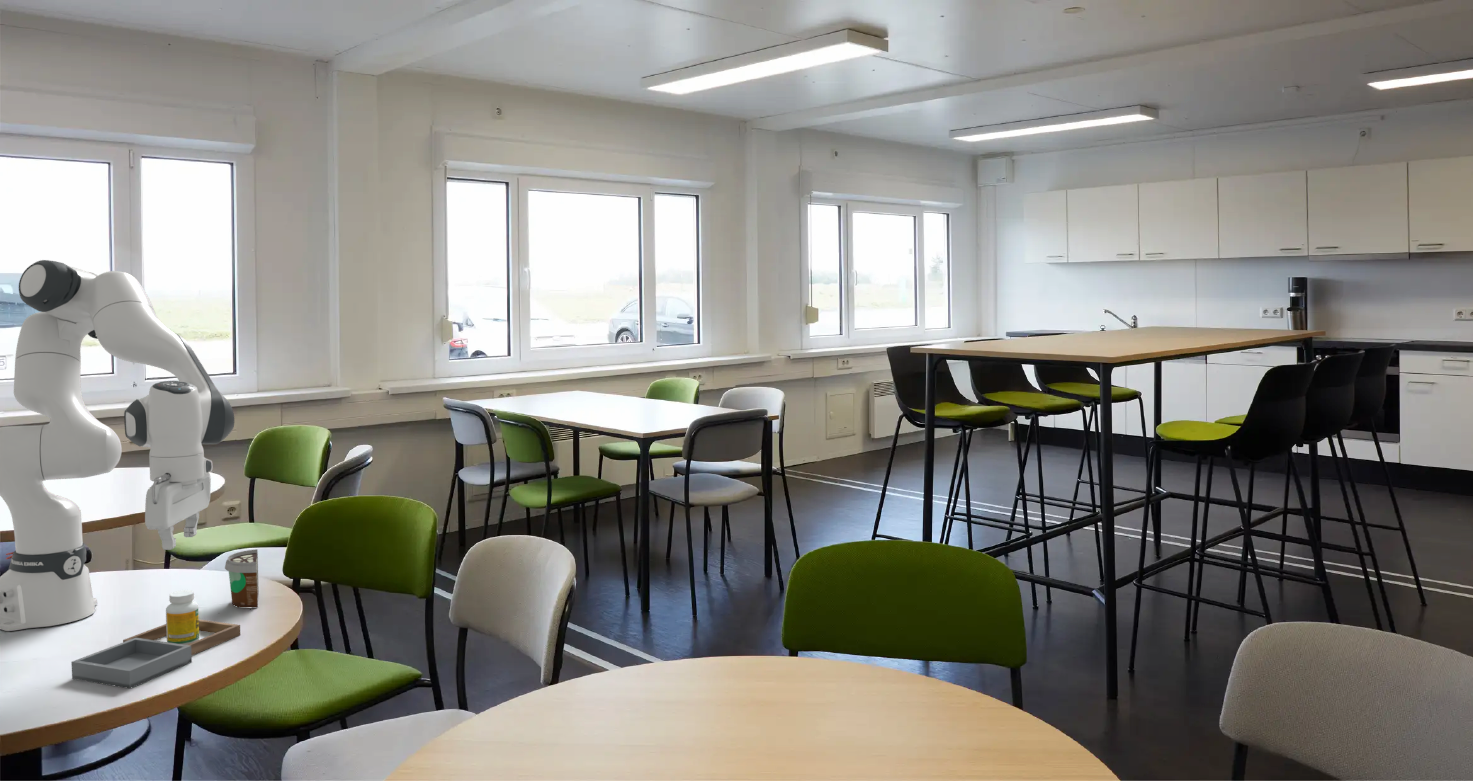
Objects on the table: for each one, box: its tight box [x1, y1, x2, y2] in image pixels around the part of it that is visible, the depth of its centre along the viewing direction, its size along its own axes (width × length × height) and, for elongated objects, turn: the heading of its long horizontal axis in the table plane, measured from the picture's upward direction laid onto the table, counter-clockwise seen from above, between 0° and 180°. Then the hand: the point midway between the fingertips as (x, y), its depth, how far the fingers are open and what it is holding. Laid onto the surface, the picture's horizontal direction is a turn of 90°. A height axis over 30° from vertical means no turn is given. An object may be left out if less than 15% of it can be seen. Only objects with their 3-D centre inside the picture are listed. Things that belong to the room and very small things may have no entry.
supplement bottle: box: [165, 589, 200, 645], centre depth 184 cm, size 5×5×10 cm
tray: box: [71, 638, 193, 689], centre depth 171 cm, size 13×13×3 cm
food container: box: [224, 548, 260, 608], centre depth 208 cm, size 12×6×10 cm, turn 25°
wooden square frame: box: [122, 618, 241, 656], centre depth 185 cm, size 14×14×2 cm
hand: (180, 542), depth 183 cm, fingers open, 8 cm apart
